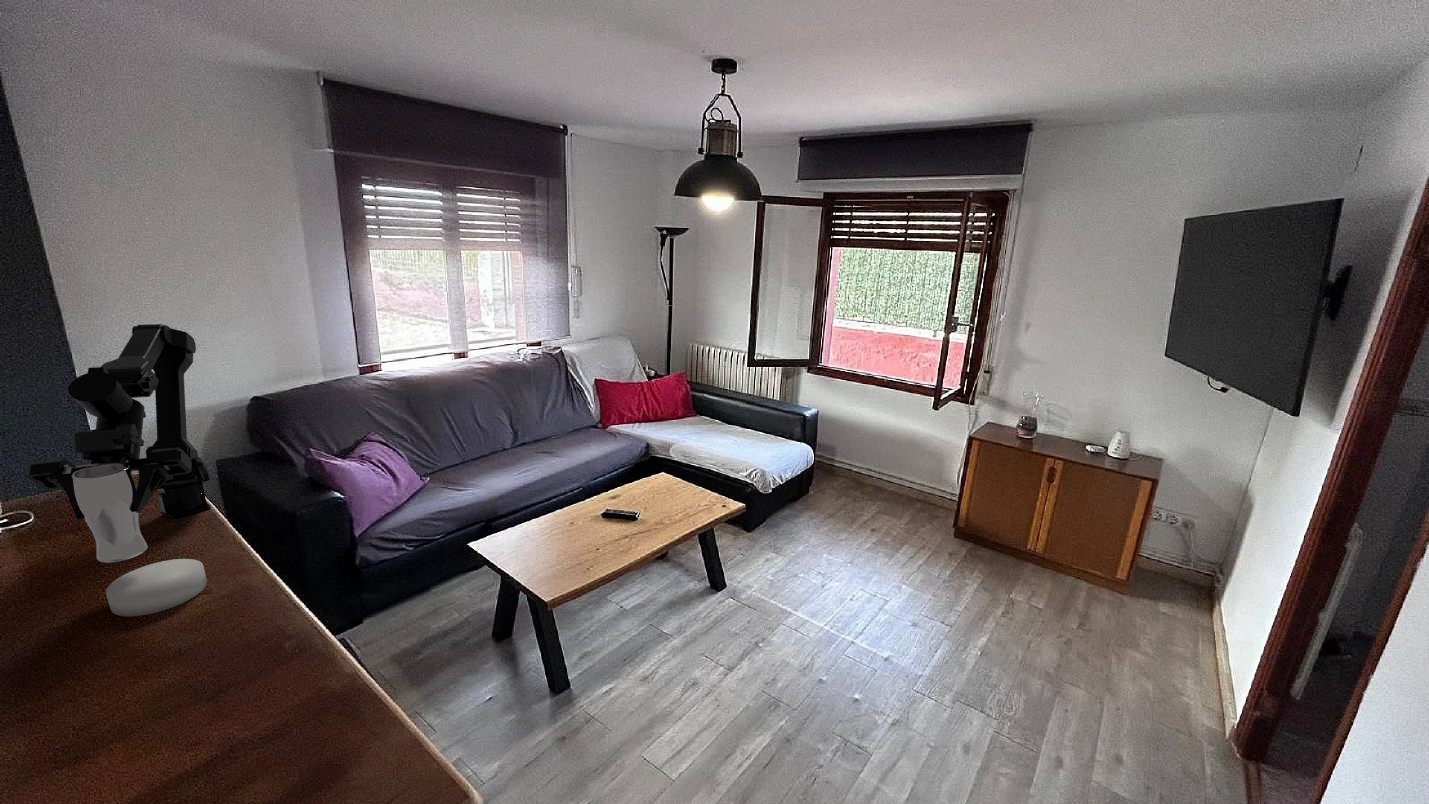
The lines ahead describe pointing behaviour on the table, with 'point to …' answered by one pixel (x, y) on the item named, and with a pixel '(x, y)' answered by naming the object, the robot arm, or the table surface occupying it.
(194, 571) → the cream stand
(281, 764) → the table surface
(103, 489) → the beer glass
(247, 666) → the table surface
